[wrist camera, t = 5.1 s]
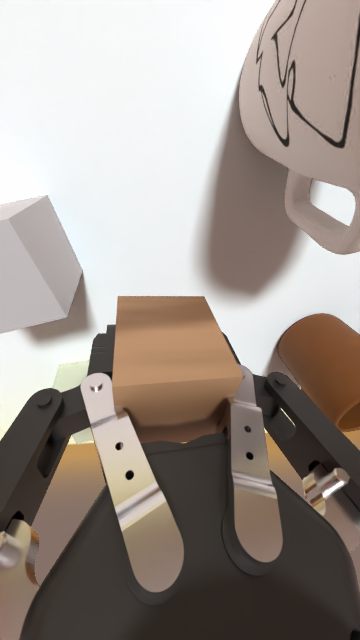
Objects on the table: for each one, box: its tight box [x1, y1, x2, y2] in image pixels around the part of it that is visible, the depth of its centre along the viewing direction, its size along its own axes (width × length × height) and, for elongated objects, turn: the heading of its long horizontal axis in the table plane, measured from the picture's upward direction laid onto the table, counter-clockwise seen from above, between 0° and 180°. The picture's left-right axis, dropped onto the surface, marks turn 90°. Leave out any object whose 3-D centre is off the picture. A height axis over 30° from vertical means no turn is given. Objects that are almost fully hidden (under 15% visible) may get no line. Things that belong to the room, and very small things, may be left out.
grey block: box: [0, 195, 83, 334], centre depth 13 cm, size 5×5×6 cm
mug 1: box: [239, 0, 360, 255], centre depth 10 cm, size 11×8×10 cm
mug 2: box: [278, 313, 360, 432], centre depth 24 cm, size 12×8×9 cm, turn 164°
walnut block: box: [112, 296, 244, 443], centre depth 12 cm, size 5×5×6 cm
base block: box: [53, 360, 94, 443], centre depth 23 cm, size 8×8×4 cm
